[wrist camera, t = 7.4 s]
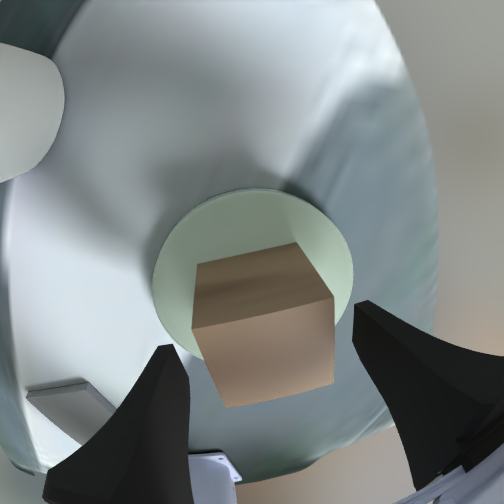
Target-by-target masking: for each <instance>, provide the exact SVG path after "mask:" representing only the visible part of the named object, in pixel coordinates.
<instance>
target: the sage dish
mask: <svg viewBox="0 0 504 504" xmlns="http://www.w3.org/2000/svg"><path fill="white" fill-rule="evenodd" d="M295 242H297V243H298V245H299V246H300V247H301V249H302V250H303V252H304V253H305V255H306V256H307V258H308V259H309V260H310V262H311V263H312V265H313V266H314V268H315V269H316V271H317V272H318V273H319V275H320V276H321V278H322V279H323V281H324V282H325V284H326V285H327V287H328V288H329V290H330V291H331V293H332V294H333V296H334V302H335V325H336V323H337V322H338V320H339V319H340V318H341V316H342V314H343V312H344V310H345V308H346V306H347V303H348V301H349V298H350V294H351V290H352V285H353V263H352V259H351V254H350V251H349V248H348V246H347V243H346V241H345V239H344V238H343V236H342V234H341V232H340V231H339V230H338V228H337V227H336V226H335V225H334V224H333V222H332V221H331V220H329V219H328V218H327V217H326V216H325V215H324V214H323V213H322V212H320V211H319V210H318V209H317V208H315V207H314V206H313V205H311V204H310V203H308V202H306V201H305V200H303V199H301V198H299V197H297V196H295V195H292V194H290V193H286V192H283V191H279V190H274V189H267V188H246V189H239V190H233V191H230V192H226V193H222V194H219V195H217V196H215V197H212V198H210V199H208V200H206V201H204V202H203V203H201V204H199V205H198V206H196V207H194V208H193V209H192V210H191V211H189V212H188V213H187V214H186V215H184V216H183V218H182V219H181V220H180V221H179V222H178V223H177V224H176V225H175V226H174V228H173V229H172V231H171V232H170V233H169V235H168V236H167V238H166V240H165V242H164V244H163V246H162V249H161V251H160V254H159V256H158V258H157V262H156V265H155V268H154V273H153V280H152V296H153V301H154V306H155V309H156V312H157V315H158V318H159V320H160V321H161V323H162V325H163V327H164V328H165V330H166V331H167V333H168V334H169V335H170V336H171V338H172V339H173V340H174V341H175V342H176V343H177V344H178V345H180V346H181V347H182V348H183V349H185V350H186V351H188V352H189V353H191V354H192V355H194V356H196V357H198V358H200V359H202V360H204V359H203V356H202V354H201V352H200V349H199V347H198V345H197V342H196V340H195V337H194V335H193V332H192V330H191V326H192V314H193V302H194V291H195V281H196V271H197V264H199V263H204V262H209V261H213V260H218V259H222V258H227V257H231V256H236V255H240V254H245V253H250V252H254V251H259V250H263V249H268V248H272V247H277V246H281V245H286V244H291V243H295Z"/></svg>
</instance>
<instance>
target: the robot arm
mask: <svg viewBox="0 0 504 504" xmlns="http://www.w3.org/2000/svg"><path fill="white" fill-rule="evenodd" d="M352 342H353V344H354V347H355V349H356V351H357V354H358V356H359V358H360V360H361V362H362V364H363V366H364V367H365V369H366V371H367V372H368V374H369V376H370V377H371V379H372V381H373V382H374V384H375V385H376V387H377V389H378V390H379V392H380V394H381V395H382V397H383V399H384V401H385V403H386V404H387V406H388V408H389V411H390V413H391V415H392V418H393V420H394V422H395V425H396V427H397V429H398V433H399V435H400V438H401V441H402V444H403V447H404V450H405V453H406V456H407V460H408V463H409V467H410V471H411V475H412V479H413V484H414V487H415V489H416V491H417V492H416V493H414V494H412V495H410V496H408V497H406V498H404V499H402V500H400V501H397V502H395V503H393V504H427V503H428V502H430V501H432V500H434V501H433V504H504V356H495V355H490V354H485V353H480V352H476V351H472V350H469V349H465V348H462V347H459V346H456V345H453V344H450V343H448V342H445V341H443V340H440V339H438V338H436V337H433V336H431V335H429V334H427V333H425V332H423V331H421V330H419V329H417V328H415V327H413V326H412V325H410V324H408V323H406V322H404V321H403V320H401V319H399V318H397V317H396V316H394V315H392V314H391V313H389V312H387V311H386V310H384V309H382V308H381V307H379V306H377V305H376V304H374V303H372V302H370V301H369V300H366V301H363V302H360V303H356V304H354V321H353V336H352ZM189 415H190V385H189V377H188V375H187V373H186V371H185V369H184V367H183V364H182V362H181V360H180V358H179V356H178V354H177V352H176V350H175V348H174V346H173V344H168V345H161V346H158V347H157V349H156V350H155V352H154V353H153V355H152V357H151V358H150V360H149V362H148V363H147V365H146V367H145V368H144V370H143V372H142V373H141V375H140V376H139V378H138V380H137V381H136V383H135V384H134V386H133V388H132V389H131V391H130V392H129V393H128V395H127V396H126V398H125V399H124V401H123V402H122V403H121V405H120V406H119V408H118V409H117V410H116V411H115V413H114V414H113V415H112V416H111V417H110V419H109V420H108V421H107V422H106V423H105V424H104V425H103V426H102V427H101V428H100V429H99V430H98V431H97V432H96V433H95V434H94V435H93V436H92V437H91V438H90V439H89V440H88V441H87V442H86V443H85V444H84V445H83V446H82V447H80V448H79V449H78V450H77V451H75V452H74V453H73V454H72V455H70V456H69V457H68V458H66V459H65V460H63V461H62V462H60V463H59V464H57V465H56V466H54V467H52V468H51V469H49V470H48V472H47V476H46V481H45V485H44V490H43V495H42V498H43V499H44V500H45V501H46V502H47V503H49V504H237V501H236V493H235V485H234V482H235V481H241V480H242V477H241V476H240V475H239V473H238V472H237V471H236V469H235V468H234V466H233V465H232V464H231V462H230V461H229V460H228V458H227V457H226V455H225V454H224V453H222V452H216V453H205V454H192V455H188V433H189ZM435 498H436V499H435Z"/></svg>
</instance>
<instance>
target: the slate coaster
mask: <svg viewBox="0 0 504 504" xmlns="http://www.w3.org/2000/svg"><path fill="white" fill-rule="evenodd" d="M26 399H27V400H28V401H29V402H30V403H31V404H32V405H34V406H35V407H36V408H37V409H38V410H39V411H40V412H41V413H42V414H43V415H45V416H46V417H47V418H48V419H49V420H50V421H51V422H53V423H54V424H55V425H56V426H57V427H59V428H60V429H61V430H62V431H64V432H65V433H66V434H67V435H69V436H70V437H71V438H73V439H74V440H75V441H77V442H78V443H79V444H81V445H82V446H83V445H84V444H85V443H86V442H87V441H88V440H89V439H90V438H91V437H92V436H93V435H94V434H95V433H96V432H97V431H98V430H99V429H100V428H101V427H102V426H103V425H104V424H105V423H106V422H107V421H108V420H109V419H110V417H111V416H112V415H113V414H114V413H115V411H116V410H117V409H116V408H115V407H114V406H113V405H112V404H110V403H109V402H108V401H107V400H106V399H105V398H104V397H103V396H102V395H101V394H100V393H99V392H98V391H97V390H96V389H95V388H94V387H93V386H92V385H91V384H90V383H89V382H87V383H82V384H77V385H71V386H65V387H59V388H53V389H46V390H39V391H31V392H28V394H27V396H26Z"/></svg>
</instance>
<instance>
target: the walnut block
mask: <svg viewBox="0 0 504 504" xmlns="http://www.w3.org/2000/svg"><path fill="white" fill-rule="evenodd" d="M191 330H192V332H193V335H194V337H195V340H196V342H197V345H198V347H199V349H200V352H201V354H202V356H203V359H204V361H205V363H206V366H207V368H208V370H209V372H210V375H211V377H212V379H213V381H214V383H215V386H216V388H217V390H218V392H219V394H220V396H221V398H222V400H223V403H224V405H225V407H226V408H231V407H237V406H243V405H248V404H253V403H258V402H263V401H268V400H273V399H277V398H281V397H286V396H290V395H294V394H298V393H301V392H305V391H309V390H312V389H316V388H319V387H323V386H326V385H330V384H333V383H334V354H335V302H334V296H333V294H332V293H331V291H330V290H329V288H328V287H327V285H326V284H325V282H324V281H323V279H322V278H321V276H320V275H319V273H318V272H317V271H316V269H315V268H314V266H313V265H312V263H311V262H310V260H309V259H308V258H307V256H306V255H305V253H304V252H303V250H302V249H301V247H300V246H299V245H298V243H297V242H295V243H291V244H286V245H281V246H277V247H272V248H268V249H263V250H259V251H254V252H250V253H245V254H240V255H236V256H231V257H227V258H222V259H218V260H213V261H209V262H204V263H199V264H197V271H196V281H195V291H194V302H193V314H192V326H191Z"/></svg>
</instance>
